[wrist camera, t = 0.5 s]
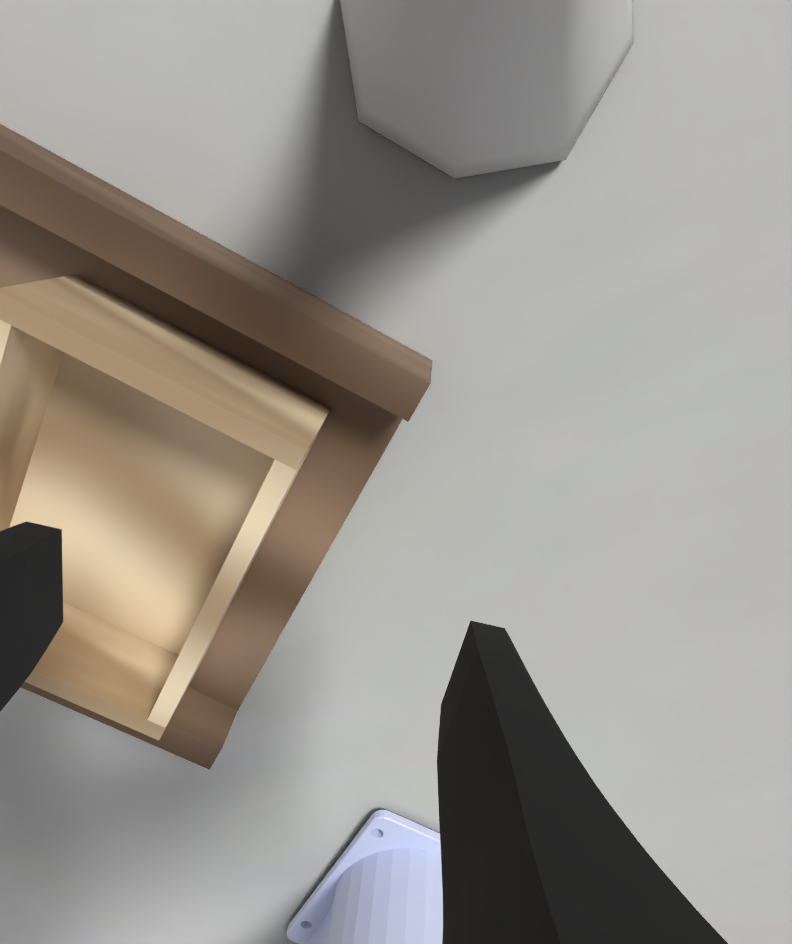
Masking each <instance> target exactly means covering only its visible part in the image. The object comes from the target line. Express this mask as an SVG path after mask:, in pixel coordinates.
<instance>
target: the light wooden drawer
mask: <svg viewBox="0 0 792 944" xmlns="http://www.w3.org/2000/svg"><path fill="white" fill-rule="evenodd" d="M330 410H331V408H329V407H327V406H325V405H323V404H321V403H319V402H317V401H315V400H313V399H311V398H310V397H308V396H306V395H304V394H302V393H300V392H298V391H296V390H294V389H292V388H291V387H289V386H287V385H285V384H283V383H281V382H279V381H277V380H275V379H273V378H272V377H270V376H268V375H266V374H264V373H262V372H260V371H258V370H256V369H254V368H253V367H251V366H249V365H247V364H245V363H243V362H241V361H239V360H237V359H235V358H234V357H232V356H230V355H228V354H226V353H224V352H222V351H220V350H218V349H216V348H214V347H213V346H211V345H209V344H207V343H205V342H203V341H201V340H199V339H197V338H195V337H194V336H192V335H190V334H188V333H186V332H184V331H182V330H180V329H178V328H176V327H175V326H173V325H171V324H169V323H167V322H165V321H163V320H161V319H159V318H157V317H156V316H154V315H152V314H150V313H148V312H146V311H144V310H142V309H140V308H138V307H137V306H135V305H133V304H131V303H129V302H127V301H125V300H123V299H121V298H119V297H117V296H116V295H114V294H112V293H110V292H108V291H106V290H104V289H102V288H100V287H98V286H97V285H95V284H93V283H91V282H89V281H87V280H85V279H83V278H81V277H79V276H78V275H76V274H74V275H69V276H63V277H58V278H52V279H46V280H41V281H35V282H30V283H24V284H19V285H13V286H8V287H2V288H0V531H2V530H5V529H7V528H10V527H12V526H15V525H18V524H21V523H24V522H26V521H27V522H31V523H36V524H40V525H44V526H49V527H53V528H58V529H62V573H63V623H62V625H61V627H60V628H59V630H58V631H57V633H56V635H55V636H54V638H53V640H52V641H51V643H50V645H49V646H48V648H47V650H46V651H45V653H44V654H43V656H42V657H41V659H40V660H39V662H38V663H37V665H36V667H35V668H34V670H33V671H32V673H31V674H30V675H29V677H28V678H27V679H26V680H25V682H26V683H29V684H31V685H33V686H36V687H38V688H40V689H42V690H45V691H47V692H49V693H52V694H54V695H56V696H58V697H61V698H63V699H65V700H68V701H70V702H72V703H74V704H77V705H79V706H81V707H84V708H86V709H88V710H90V711H93V712H95V713H97V714H99V715H102V716H104V717H106V718H109V719H111V720H113V721H115V722H118V723H120V724H122V725H125V726H127V727H129V728H131V729H134V730H136V731H138V732H141V733H143V734H145V735H147V736H150V737H152V738H154V739H157V740H160V738H161V736H162V734H163V732H164V731H165V729H166V727H167V725H168V723H169V721H170V719H171V718H172V716H173V714H174V712H175V710H176V708H177V706H178V705H179V703H180V701H181V699H182V697H183V695H184V693H185V692H186V690H187V688H188V686H189V684H190V682H191V680H192V679H193V677H194V675H195V673H196V671H197V669H198V667H199V666H200V664H201V662H202V660H203V658H204V656H205V654H206V652H207V650H208V648H209V646H210V644H211V642H212V640H213V638H214V636H215V634H216V632H217V630H218V629H219V627H220V625H221V623H222V621H223V619H224V617H225V615H226V613H227V611H228V609H229V607H230V605H231V603H232V601H233V599H234V597H235V595H236V593H237V591H238V589H239V587H240V586H241V584H242V582H243V580H244V578H245V576H246V574H247V572H248V570H249V568H250V566H251V564H252V562H253V560H254V558H255V556H256V554H257V552H258V550H259V548H260V546H261V544H262V543H263V541H264V539H265V537H266V535H267V533H268V531H269V529H270V527H271V525H272V523H273V521H274V519H275V517H276V515H277V513H278V511H279V509H280V507H281V505H282V503H283V501H284V500H285V498H286V496H287V494H288V492H289V490H290V488H291V486H292V484H293V482H294V480H295V478H296V476H297V474H298V472H299V470H300V468H301V466H302V464H303V462H304V460H305V458H306V457H307V455H308V453H309V451H310V449H311V447H312V445H313V443H314V441H315V439H316V437H317V435H318V433H319V431H320V429H321V427H322V425H323V423H324V421H325V419H326V417H327V415H328V414H329V412H330Z"/></svg>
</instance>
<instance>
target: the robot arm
mask: <svg viewBox="0 0 792 944" xmlns="http://www.w3.org/2000/svg"><path fill="white" fill-rule="evenodd" d="M62 623H63V573H62V529H58V528H53V527H49V526H44V525H40V524H36V523H31V522H27V521H26V522H24V523H21V524H18V525H15V526H12V527H10V528H7V529H5V530H2V531H0V711H1V710H2V709H3V708H4V706H5V705H6V704H7V703H8V701H9V700H10V699H11V698H12V696H13V695H14V694H15V693H16V692H17V690H18V689H19V688H20V687H21V685H22V684H23V683H24V682H25V680H26V679H27V678H28V677H29V675H30V674H31V673H32V671H33V670H34V668H35V667H36V665H37V663H38V662H39V660H40V659H41V657H42V656H43V654H44V653H45V651H46V650H47V648H48V646H49V645H50V643H51V641H52V640H53V638H54V636H55V635H56V633H57V631H58V630H59V628H60V627H61V625H62ZM437 770H438V797H439V821H440V834H439V833H437V832H435V831H433V830H430V829H428V828H426V827H424V826H421V825H419V824H417V823H415V822H413V821H410V820H408V819H406V818H404V817H401V816H399V815H397V814H395V813H392V812H390V811H387V810H378V811H375V812H374V813H373V814H372V815H371V817H370V818H369V819H368V821H367V822H366V823H365V825H364V826H363V827H362V829H361V830H360V831H359V833H358V834H357V835H356V836H355V838H354V839H353V840H352V842H351V843H350V844H349V846H348V847H347V848H346V850H345V851H344V852H343V854H342V855H341V856H340V858H339V859H338V860H337V862H336V863H335V864H334V866H333V867H332V868H331V870H330V871H329V872H328V873H327V875H326V876H325V877H324V879H323V880H322V881H321V883H320V884H319V885H318V887H317V888H316V889H315V891H314V892H313V893H312V895H311V896H310V897H309V899H308V900H307V901H306V903H305V904H304V905H303V906H302V908H301V909H300V910H299V912H298V913H297V914H296V916H295V917H294V918H293V920H292V921H291V922H290V924H289V926H288V929H287V937H288V938H289V939H290V940H291V941H293V942H295V943H298V944H728V943H727V942H726V941H725V940H724V939H723V938H722V937H721V936H720V935H719V934H718V933H717V932H716V930H715V929H714V928H713V927H712V926H711V925H710V924H709V923H708V922H707V921H706V920H705V919H704V918H703V917H702V915H701V914H700V913H699V912H698V911H697V910H696V909H695V908H694V907H693V905H692V904H691V903H690V902H689V901H688V900H687V899H686V897H685V896H684V895H683V894H682V893H681V892H680V891H679V889H678V888H677V887H676V886H675V885H674V884H673V883H672V881H671V880H670V879H669V878H668V877H667V876H666V875H665V873H664V872H663V871H662V870H661V869H660V868H659V866H658V865H657V864H656V863H655V862H654V860H653V859H652V858H651V857H650V856H649V854H648V853H647V852H646V851H645V849H644V848H643V847H642V846H641V845H640V843H639V842H638V841H637V839H636V838H635V837H634V835H633V834H632V833H631V832H630V830H629V829H628V828H627V826H626V825H625V824H624V822H623V821H622V820H621V819H620V817H619V816H618V815H617V813H616V812H615V811H614V809H613V808H612V807H611V805H610V804H609V803H608V801H607V800H606V799H605V797H604V796H603V794H602V793H601V792H600V790H599V789H598V787H597V786H596V785H595V783H594V782H593V780H592V779H591V777H590V776H589V774H588V773H587V771H586V769H585V768H584V766H583V765H582V763H581V762H580V760H579V759H578V757H577V756H576V754H575V753H574V751H573V749H572V748H571V746H570V745H569V743H568V741H567V740H566V738H565V737H564V735H563V733H562V731H561V730H560V728H559V726H558V725H557V723H556V721H555V720H554V718H553V716H552V714H551V713H550V711H549V709H548V708H547V706H546V704H545V702H544V701H543V699H542V697H541V695H540V694H539V692H538V690H537V688H536V686H535V684H534V682H533V681H532V679H531V677H530V675H529V673H528V671H527V669H526V668H525V666H524V664H523V662H522V660H521V658H520V656H519V654H518V652H517V650H516V648H515V646H514V645H513V643H512V641H511V639H510V637H509V635H508V633H507V632H506V630H505V628H501V627H496V626H492V625H487V624H483V623H478V622H474V621H470V624H469V627H468V630H467V633H466V635H465V638H464V641H463V644H462V647H461V650H460V653H459V655H458V658H457V661H456V664H455V667H454V670H453V672H452V675H451V678H450V681H449V684H448V687H447V689H446V692H445V695H444V698H443V701H442V704H441V714H440V727H439V740H438V755H437Z"/></svg>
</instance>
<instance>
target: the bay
mask: <svg viewBox="0 0 792 944" xmlns="http://www.w3.org/2000/svg"><path fill="white" fill-rule="evenodd" d="M74 274H76V275H78V276H79V277H81V278H83V279H85V280H87V281H89V282H91V283H93V284H95V285H97V286H98V287H100V288H102V289H104V290H106V291H108V292H110V293H112V294H114V295H116V296H117V297H119V298H121V299H123V300H125V301H127V302H129V303H131V304H133V305H135V306H137V307H138V308H140V309H142V310H144V311H146V312H148V313H150V314H152V315H154V316H156V317H157V318H159V319H161V320H163V321H165V322H167V323H169V324H171V325H173V326H175V327H176V328H178V329H180V330H182V331H184V332H186V333H188V334H190V335H192V336H194V337H195V338H197V339H199V340H201V341H203V342H205V343H207V344H209V345H211V346H213V347H214V348H216V349H218V350H220V351H222V352H224V353H226V354H228V355H230V356H232V357H234V358H235V359H237V360H239V361H241V362H243V363H245V364H247V365H249V366H251V367H253V368H254V369H256V370H258V371H260V372H262V373H264V374H266V375H268V376H270V377H272V378H273V379H275V380H277V381H279V382H281V383H283V384H285V385H287V386H289V387H291V388H292V389H294V390H296V391H298V392H300V393H302V394H304V395H306V396H308V397H310V398H311V399H313V400H315V401H317V402H319V403H321V404H323V405H325V406H327V407H329V408H331V410H330V412H329V414H328V415H327V417H326V419H325V421H324V423H323V425H322V427H321V429H320V431H319V433H318V435H317V437H316V439H315V441H314V443H313V445H312V447H311V449H310V451H309V453H308V455H307V457H306V458H305V460H304V462H303V464H302V466H301V468H300V470H299V472H298V474H297V476H296V478H295V480H294V482H293V484H292V486H291V488H290V490H289V492H288V494H287V496H286V498H285V500H284V501H283V503H282V505H281V507H280V509H279V511H278V513H277V515H276V517H275V519H274V521H273V523H272V525H271V527H270V529H269V531H268V533H267V535H266V537H265V539H264V541H263V543H262V544H261V546H260V548H259V550H258V552H257V554H256V556H255V558H254V560H253V562H252V564H251V566H250V568H249V570H248V572H247V574H246V576H245V578H244V580H243V582H242V584H241V586H240V587H239V589H238V591H237V593H236V595H235V597H234V599H233V601H232V603H231V605H230V607H229V609H228V611H227V613H226V615H225V617H224V619H223V621H222V623H221V625H220V627H219V629H218V630H217V632H216V634H215V636H214V638H213V640H212V642H211V644H210V646H209V648H208V650H207V652H206V654H205V656H204V658H203V660H202V662H201V664H200V666H199V667H198V669H197V671H196V673H195V675H194V677H193V679H192V680H191V682H190V684H189V686H188V688H187V690H186V692H185V693H184V695H183V697H182V699H181V701H180V703H179V705H178V706H177V708H176V710H175V712H174V714H173V716H172V718H171V719H170V721H169V723H168V725H167V727H166V729H165V731H164V732H163V734H162V736H161V738H160V740H157V739H154V738H152V737H150V736H147V735H145V734H143V733H141V732H138V731H136V730H134V729H131V728H129V727H127V726H125V725H122V724H120V723H118V722H115V721H113V720H111V719H109V718H106V717H104V716H102V715H99V714H97V713H95V712H93V711H90V710H88V709H86V708H84V707H81V706H79V705H77V704H74V703H72V702H70V701H68V700H65V699H63V698H61V697H58V696H56V695H54V694H52V693H49V692H47V691H45V690H42V689H40V688H38V687H36V686H33V685H31V684H29V683H26V682H24V683H23V684H22V685H21V687H22V688H24V689H27V690H29V691H31V692H33V693H36V694H38V695H40V696H43V697H45V698H47V699H49V700H52V701H54V702H56V703H59V704H61V705H63V706H65V707H68V708H70V709H72V710H75V711H77V712H79V713H82V714H84V715H86V716H88V717H91V718H93V719H95V720H98V721H100V722H102V723H104V724H107V725H109V726H111V727H114V728H116V729H118V730H120V731H123V732H125V733H127V734H130V735H132V736H134V737H136V738H139V739H141V740H143V741H146V742H148V743H150V744H152V745H155V746H157V747H159V748H162V749H164V750H166V751H168V752H171V753H173V754H175V755H178V756H180V757H182V758H185V759H187V760H189V761H191V762H194V763H196V764H198V765H201V766H203V767H205V768H207V769H210V768H211V766H212V764H213V763H214V761H215V759H216V757H217V756H218V754H219V752H220V750H221V749H222V747H223V744H224V742H225V739H226V737H227V735H228V732H229V730H230V727H231V725H232V722H233V720H234V718H235V715H236V713H237V710H238V709H239V707H240V705H241V703H242V701H243V700H244V698H245V696H246V694H247V693H248V691H249V689H250V687H251V686H252V684H253V682H254V680H255V678H256V677H257V675H258V673H259V671H260V670H261V668H262V666H263V664H264V663H265V661H266V659H267V657H268V656H269V654H270V652H271V650H272V648H273V647H274V645H275V643H276V641H277V640H278V638H279V636H280V634H281V633H282V631H283V629H284V627H285V625H286V624H287V622H288V620H289V618H290V617H291V615H292V613H293V611H294V610H295V608H296V606H297V604H298V603H299V601H300V599H301V597H302V595H303V594H304V592H305V590H306V588H307V587H308V585H309V583H310V581H311V580H312V578H313V576H314V574H315V572H316V571H317V569H318V567H319V565H320V564H321V562H322V560H323V558H324V557H325V555H326V553H327V551H328V550H329V548H330V546H331V544H332V542H333V541H334V539H335V537H336V535H337V534H338V532H339V530H340V528H341V527H342V525H343V523H344V521H345V519H346V518H347V516H348V514H349V512H350V511H351V509H352V507H353V505H354V504H355V502H356V500H357V498H358V497H359V495H360V493H361V491H362V489H363V488H364V486H365V484H366V482H367V481H368V479H369V477H370V475H371V474H372V472H373V470H374V468H375V467H376V465H377V463H378V461H379V459H380V458H381V456H382V454H383V452H384V451H385V449H386V447H387V445H388V444H389V442H390V440H391V438H392V436H393V435H394V433H395V431H396V429H397V428H398V426H399V424H400V422H401V421H402V419H404V420H406V421H409V420H410V418H411V416H412V414H413V413H414V411H415V409H416V407H417V406H418V404H419V402H420V400H421V399H422V397H423V395H424V393H425V392H426V390H427V388H428V386H429V385H430V381H431V370H432V360H430V359H428V358H426V357H424V356H422V355H421V354H419V353H417V352H415V351H413V350H412V349H410V348H408V347H406V346H404V345H402V344H401V343H399V342H397V341H395V340H393V339H391V338H390V337H388V336H386V335H384V334H382V333H381V332H379V331H377V330H375V329H373V328H371V327H370V326H368V325H366V324H364V323H362V322H360V321H359V320H357V319H355V318H353V317H351V316H350V315H348V314H346V313H344V312H342V311H340V310H339V309H337V308H335V307H333V306H331V305H329V304H328V303H326V302H324V301H322V300H320V299H318V298H317V297H315V296H313V295H311V294H309V293H308V292H306V291H304V290H302V289H300V288H298V287H297V286H295V285H293V284H291V283H289V282H287V281H286V280H284V279H282V278H280V277H278V276H277V275H275V274H273V273H271V272H269V271H267V270H266V269H264V268H262V267H260V266H258V265H256V264H255V263H253V262H251V261H249V260H247V259H245V258H244V257H242V256H240V255H238V254H236V253H235V252H233V251H231V250H229V249H227V248H225V247H224V246H222V245H220V244H218V243H216V242H214V241H213V240H211V239H209V238H207V237H205V236H204V235H202V234H200V233H198V232H196V231H194V230H193V229H191V228H189V227H187V226H185V225H183V224H182V223H180V222H178V221H176V220H174V219H172V218H171V217H169V216H167V215H165V214H163V213H162V212H160V211H158V210H156V209H154V208H152V207H151V206H149V205H147V204H145V203H143V202H141V201H140V200H138V199H136V198H134V197H132V196H131V195H129V194H127V193H125V192H123V191H121V190H120V189H118V188H116V187H114V186H112V185H110V184H109V183H107V182H105V181H103V180H101V179H99V178H98V177H96V176H94V175H92V174H90V173H89V172H87V171H85V170H83V169H81V168H79V167H78V166H76V165H74V164H72V163H70V162H68V161H67V160H65V159H63V158H61V157H59V156H58V155H56V154H54V153H52V152H50V151H48V150H47V149H45V148H43V147H41V146H39V145H37V144H36V143H34V142H32V141H30V140H28V139H26V138H25V137H23V136H21V135H19V134H17V133H16V132H14V131H12V130H10V129H8V128H6V127H5V126H3V125H1V124H0V288H2V287H8V286H13V285H19V284H24V283H30V282H35V281H41V280H46V279H52V278H58V277H63V276H69V275H74Z"/></svg>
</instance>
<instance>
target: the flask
mask: <svg viewBox="0 0 792 944" xmlns="http://www.w3.org/2000/svg"><path fill="white" fill-rule="evenodd" d="M340 4H341V10H342V17H343V23H344V30H345V36H346V43H347V49H348V56H349V63H350V69H351V76H352V82H353V89H354V95H355V102H356V108H357V115H358V121H359V122H361V123H363V124H364V125H366V126H368V127H369V128H371V129H373V130H374V131H376V132H378V133H379V134H381V135H383V136H384V137H386V138H388V139H390V140H391V141H393V142H395V143H396V144H398V145H400V146H401V147H403V148H405V149H406V150H408V151H410V152H411V153H413V154H415V155H416V156H418V157H420V158H421V159H423V160H425V161H426V162H428V163H430V164H431V165H433V166H435V167H436V168H438V169H440V170H441V171H443V172H445V173H446V174H448V175H450V176H451V177H453V178H461V177H467V176H473V175H479V174H485V173H491V172H496V171H502V170H508V169H514V168H520V167H526V166H532V165H538V164H544V163H550V162H556V161H562V160H566V158H567V156H568V155H569V153H570V151H571V149H572V148H573V146H574V144H575V143H576V141H577V139H578V137H579V136H580V134H581V132H582V131H583V129H584V127H585V125H586V124H587V122H588V120H589V119H590V117H591V115H592V113H593V112H594V110H595V108H596V106H597V105H598V103H599V101H600V100H601V98H602V96H603V94H604V93H605V91H606V89H607V88H608V86H609V84H610V82H611V81H612V79H613V77H614V76H615V74H616V72H617V70H618V69H619V67H620V65H621V64H622V62H623V60H624V58H625V57H626V55H627V53H628V51H629V50H630V48H631V46H632V45H633V0H340Z"/></svg>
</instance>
